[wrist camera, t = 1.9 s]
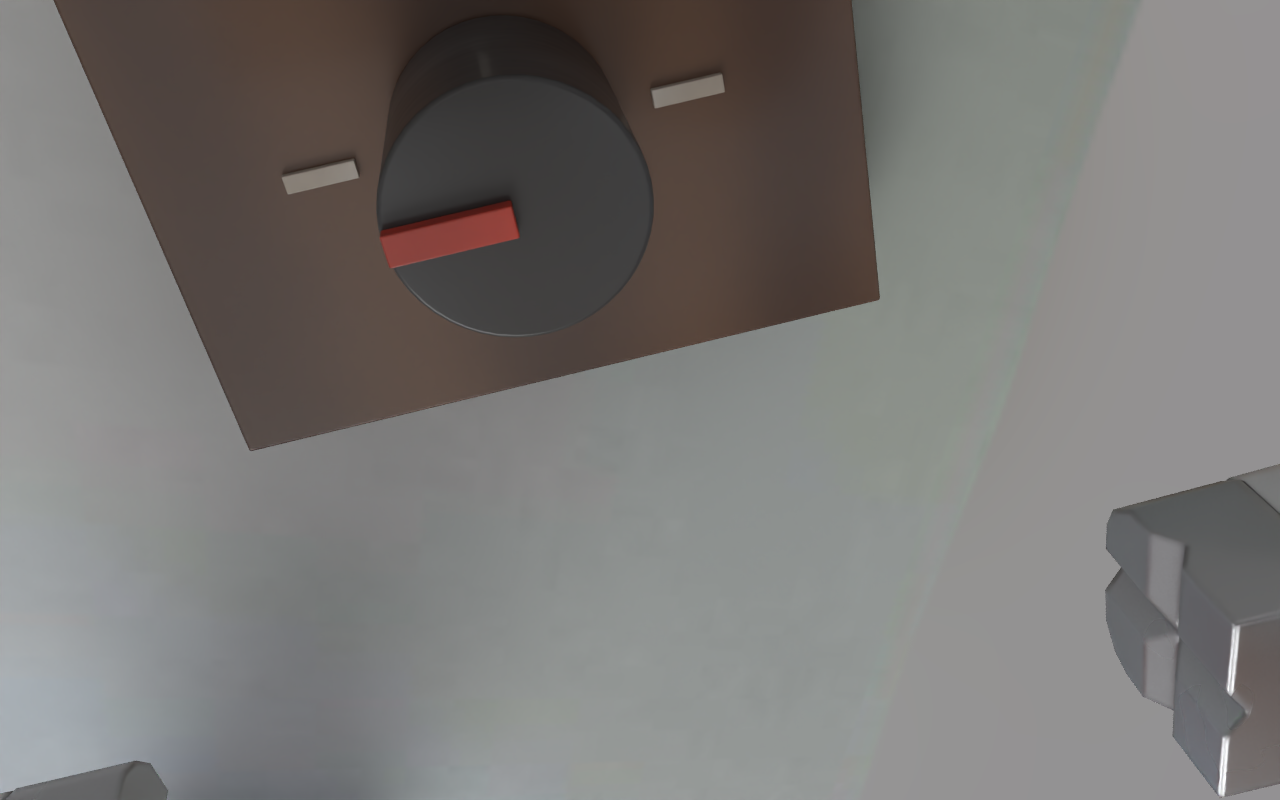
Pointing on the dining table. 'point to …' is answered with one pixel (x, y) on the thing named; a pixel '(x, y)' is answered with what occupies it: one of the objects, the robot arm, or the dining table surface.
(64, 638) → the dining table surface
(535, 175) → the dial
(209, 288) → the panel
